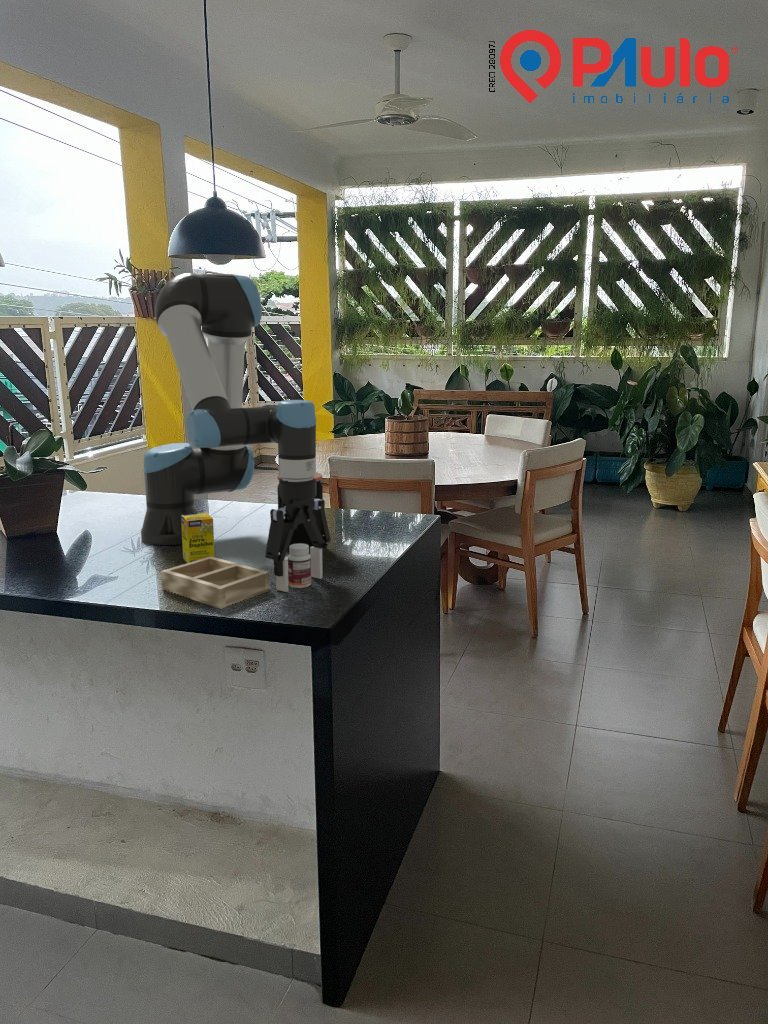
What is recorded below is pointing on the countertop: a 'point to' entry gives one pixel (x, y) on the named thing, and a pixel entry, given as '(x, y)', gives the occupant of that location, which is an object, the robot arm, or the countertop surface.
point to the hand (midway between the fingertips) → (299, 583)
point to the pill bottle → (299, 566)
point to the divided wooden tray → (215, 581)
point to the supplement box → (197, 537)
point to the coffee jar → (301, 533)
